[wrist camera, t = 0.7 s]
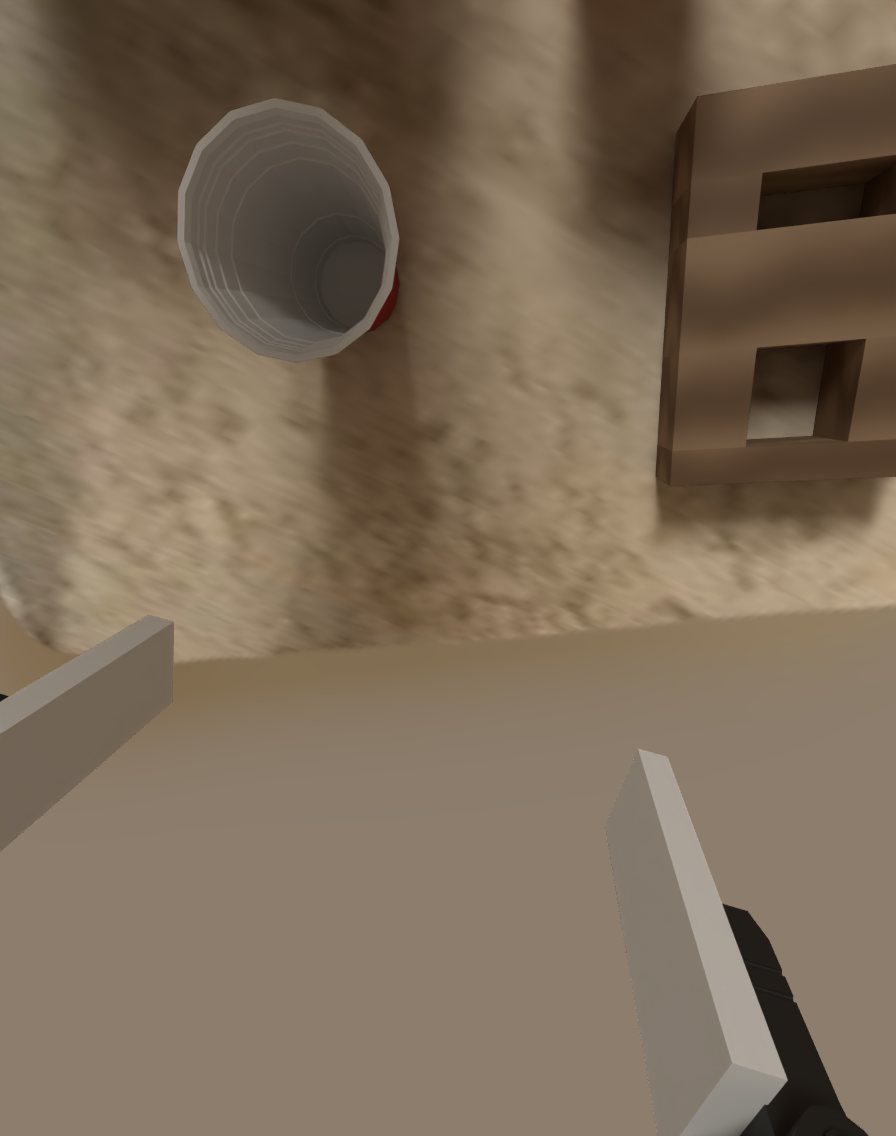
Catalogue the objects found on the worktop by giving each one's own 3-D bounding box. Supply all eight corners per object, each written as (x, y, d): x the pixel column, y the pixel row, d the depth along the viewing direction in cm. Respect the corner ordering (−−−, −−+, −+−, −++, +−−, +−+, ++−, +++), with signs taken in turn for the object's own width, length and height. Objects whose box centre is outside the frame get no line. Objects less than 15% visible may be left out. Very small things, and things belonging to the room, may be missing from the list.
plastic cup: (439, 370, 36) (398, 362, 25) (295, 370, 37) (195, 362, 26) (439, 188, 32) (391, 81, 21) (280, 197, 34) (156, 101, 23)
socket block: (676, 133, 30) (697, 96, 26) (952, 91, 27) (1019, 44, 23) (655, 476, 36) (670, 486, 32) (877, 466, 34) (920, 475, 30)
